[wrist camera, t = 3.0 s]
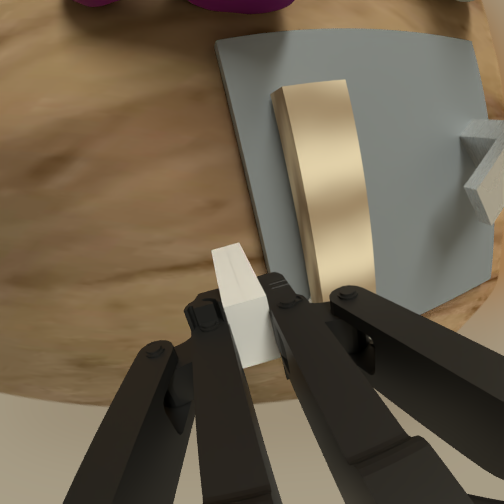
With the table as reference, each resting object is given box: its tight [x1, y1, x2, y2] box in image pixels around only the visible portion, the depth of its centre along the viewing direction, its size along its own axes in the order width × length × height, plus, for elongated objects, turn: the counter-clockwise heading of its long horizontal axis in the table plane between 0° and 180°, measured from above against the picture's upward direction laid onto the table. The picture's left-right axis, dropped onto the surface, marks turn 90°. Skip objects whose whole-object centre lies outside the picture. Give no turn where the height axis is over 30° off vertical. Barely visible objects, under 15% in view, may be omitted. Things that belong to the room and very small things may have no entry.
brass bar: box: [270, 79, 376, 303], centre depth 23 cm, size 20×5×3 cm, turn 13°
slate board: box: [214, 29, 494, 315], centre depth 26 cm, size 27×28×2 cm
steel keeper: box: [459, 119, 504, 226], centre depth 23 cm, size 10×4×6 cm, turn 135°
